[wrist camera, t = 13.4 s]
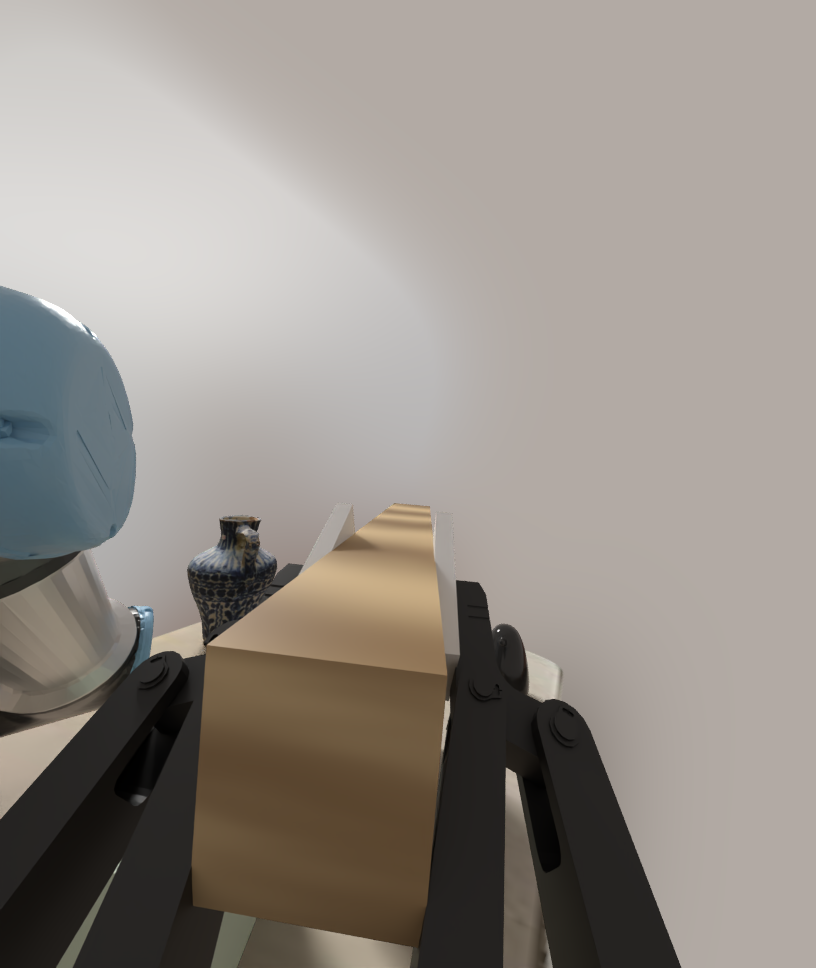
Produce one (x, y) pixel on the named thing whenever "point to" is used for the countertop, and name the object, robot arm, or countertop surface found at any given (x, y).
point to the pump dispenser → (511, 657)
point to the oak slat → (328, 742)
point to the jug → (231, 574)
